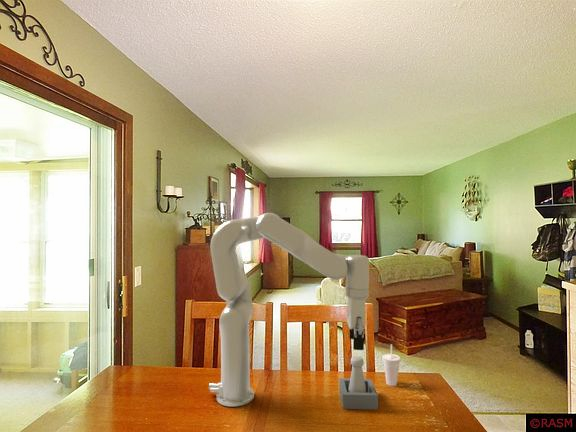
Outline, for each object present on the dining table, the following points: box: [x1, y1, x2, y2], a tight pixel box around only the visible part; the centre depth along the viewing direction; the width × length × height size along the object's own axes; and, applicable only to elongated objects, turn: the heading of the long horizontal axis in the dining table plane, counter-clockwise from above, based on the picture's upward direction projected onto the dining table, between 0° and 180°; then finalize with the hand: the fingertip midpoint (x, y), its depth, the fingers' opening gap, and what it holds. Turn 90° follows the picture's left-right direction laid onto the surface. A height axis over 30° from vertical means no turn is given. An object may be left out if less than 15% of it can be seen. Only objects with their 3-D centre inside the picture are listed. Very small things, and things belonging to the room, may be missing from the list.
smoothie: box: [381, 343, 401, 387], centre depth 126 cm, size 6×6×14 cm
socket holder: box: [338, 377, 379, 410], centre depth 115 cm, size 11×11×4 cm
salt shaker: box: [348, 355, 366, 393], centre depth 115 cm, size 6×6×13 cm
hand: (356, 344), depth 115 cm, fingers open, 9 cm apart
